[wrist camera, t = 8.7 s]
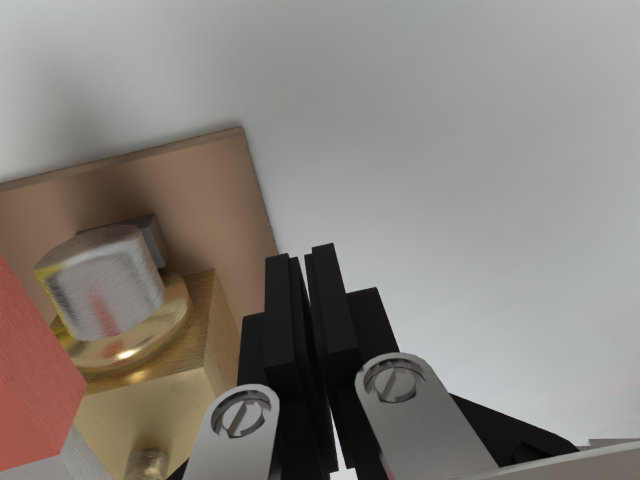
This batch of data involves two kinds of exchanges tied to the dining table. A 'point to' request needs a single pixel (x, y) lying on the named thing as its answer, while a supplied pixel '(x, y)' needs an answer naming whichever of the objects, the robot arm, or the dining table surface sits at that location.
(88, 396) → the ball valve
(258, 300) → the valve board
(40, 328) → the valve lever
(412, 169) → the dining table surface
